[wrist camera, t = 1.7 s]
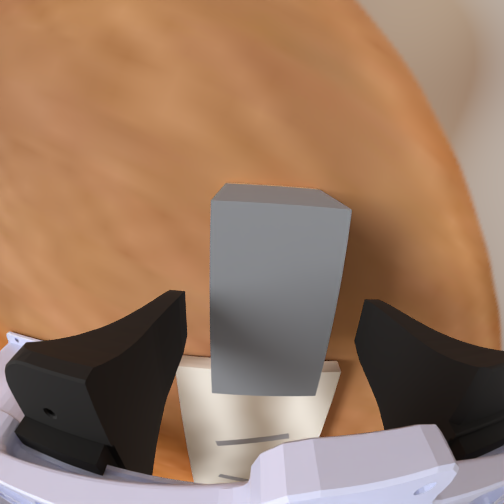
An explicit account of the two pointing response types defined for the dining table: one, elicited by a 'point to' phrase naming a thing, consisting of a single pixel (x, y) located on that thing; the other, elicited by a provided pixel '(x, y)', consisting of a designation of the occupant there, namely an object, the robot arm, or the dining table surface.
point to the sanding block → (273, 287)
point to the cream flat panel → (243, 421)
